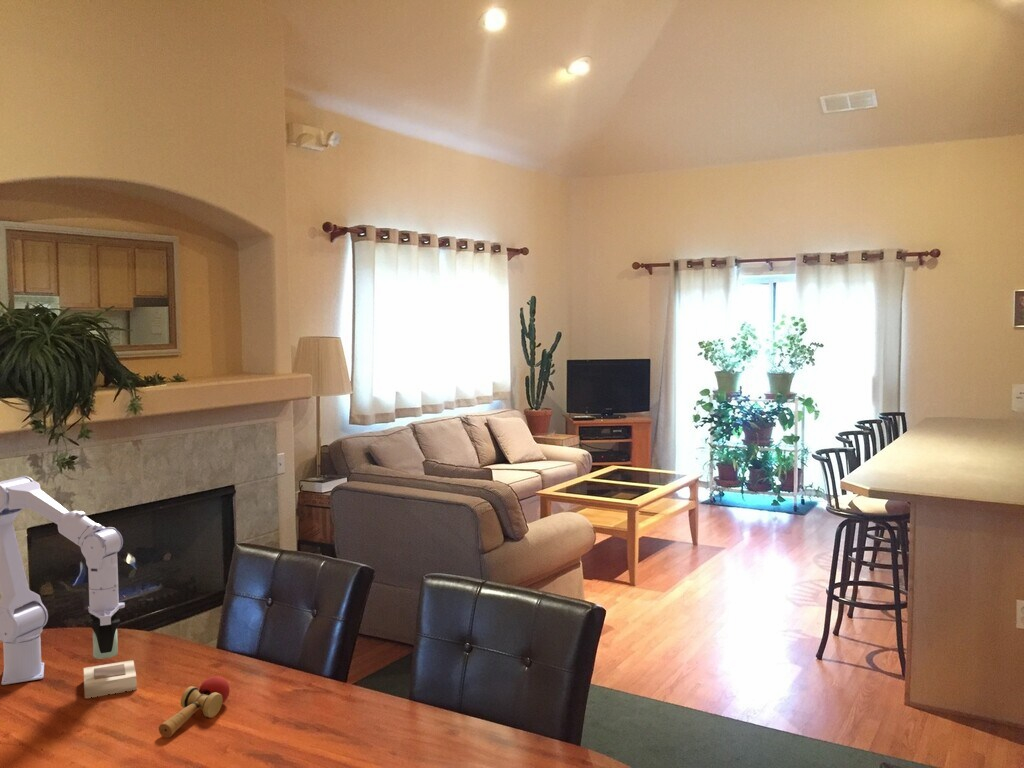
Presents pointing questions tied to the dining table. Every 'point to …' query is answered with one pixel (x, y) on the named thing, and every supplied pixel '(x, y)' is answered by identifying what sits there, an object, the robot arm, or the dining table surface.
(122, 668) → the birch base
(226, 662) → the dining table surface
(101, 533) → the robot arm
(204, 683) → the kendama
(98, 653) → the pale green rounded cylinder
